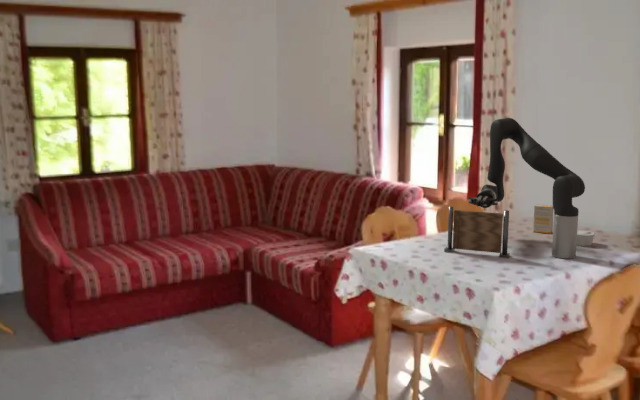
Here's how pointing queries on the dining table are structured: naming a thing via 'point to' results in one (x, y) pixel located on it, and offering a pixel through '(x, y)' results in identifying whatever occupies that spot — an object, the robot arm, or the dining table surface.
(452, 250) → the gate frame
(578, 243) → the ramekin
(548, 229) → the supplement box
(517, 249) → the dining table surface
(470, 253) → the dining table surface
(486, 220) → the gate
